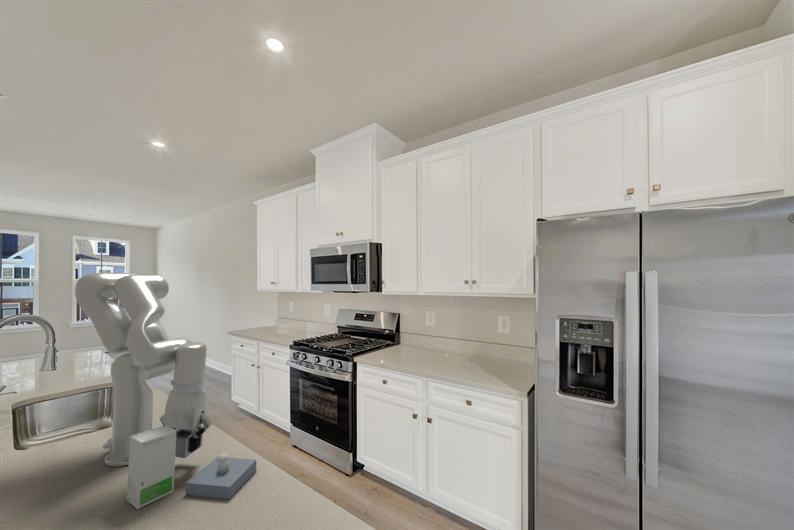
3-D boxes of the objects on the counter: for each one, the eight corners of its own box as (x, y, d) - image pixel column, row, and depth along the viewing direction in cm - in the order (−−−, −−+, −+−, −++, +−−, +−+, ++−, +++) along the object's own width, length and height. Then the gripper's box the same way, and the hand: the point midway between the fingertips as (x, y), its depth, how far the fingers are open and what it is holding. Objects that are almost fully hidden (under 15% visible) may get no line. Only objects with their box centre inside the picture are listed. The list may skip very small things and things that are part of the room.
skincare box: (136, 511, 76) (138, 443, 76) (124, 500, 79) (127, 436, 80) (175, 491, 83) (177, 429, 84) (163, 482, 87) (165, 423, 87)
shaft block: (185, 494, 82) (186, 464, 82) (217, 467, 94) (218, 441, 94) (229, 499, 80) (230, 468, 80) (256, 470, 92) (256, 444, 92)
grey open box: (163, 454, 90) (164, 436, 90) (181, 442, 97) (183, 425, 97) (184, 458, 90) (186, 440, 90) (201, 445, 96) (203, 428, 96)
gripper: (150, 387, 91) (145, 450, 91) (206, 394, 89) (201, 460, 88) (172, 378, 98) (167, 437, 98) (224, 385, 96) (219, 445, 96)
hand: (183, 447), depth 93 cm, fingers closed on grey open box, 6 cm apart
